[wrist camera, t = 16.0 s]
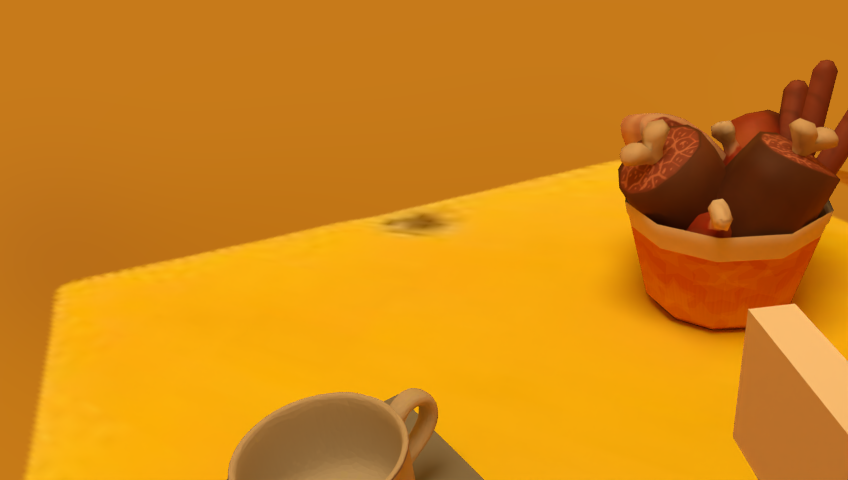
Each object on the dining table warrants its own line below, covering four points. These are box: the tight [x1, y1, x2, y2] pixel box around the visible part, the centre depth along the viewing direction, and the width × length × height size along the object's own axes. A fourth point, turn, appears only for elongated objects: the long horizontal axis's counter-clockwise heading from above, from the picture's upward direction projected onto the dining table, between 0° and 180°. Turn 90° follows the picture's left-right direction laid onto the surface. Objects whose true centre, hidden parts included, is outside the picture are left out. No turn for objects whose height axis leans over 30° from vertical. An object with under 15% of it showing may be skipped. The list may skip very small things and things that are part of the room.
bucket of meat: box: [618, 60, 848, 330], centre depth 62 cm, size 20×16×20 cm
